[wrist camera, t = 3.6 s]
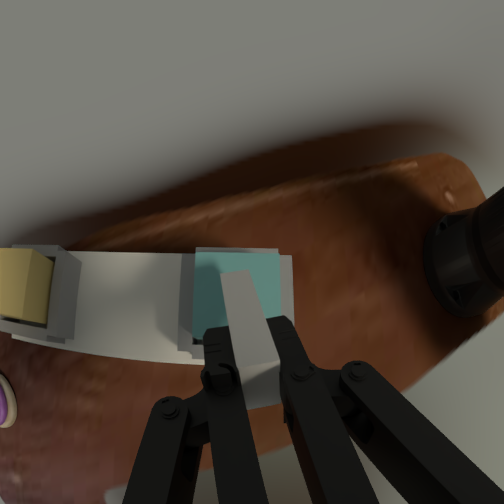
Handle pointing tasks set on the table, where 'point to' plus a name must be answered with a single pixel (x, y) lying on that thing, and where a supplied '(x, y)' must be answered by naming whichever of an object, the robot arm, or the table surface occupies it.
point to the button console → (127, 304)
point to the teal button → (211, 294)
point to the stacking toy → (7, 404)
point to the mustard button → (25, 284)
